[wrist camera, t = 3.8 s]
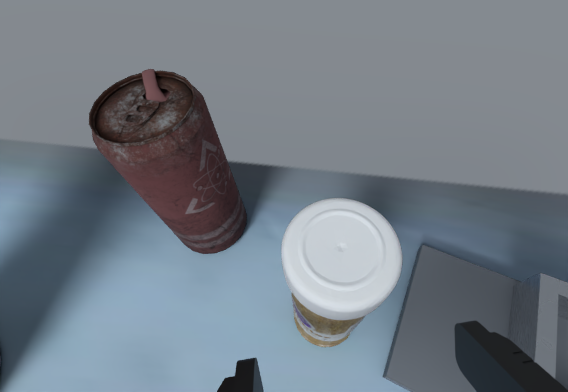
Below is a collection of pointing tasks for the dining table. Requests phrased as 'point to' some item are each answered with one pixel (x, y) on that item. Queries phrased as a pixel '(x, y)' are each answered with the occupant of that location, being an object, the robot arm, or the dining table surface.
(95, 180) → the dining table surface
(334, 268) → the sprinkles bottle
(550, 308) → the collar
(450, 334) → the slate board
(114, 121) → the can
